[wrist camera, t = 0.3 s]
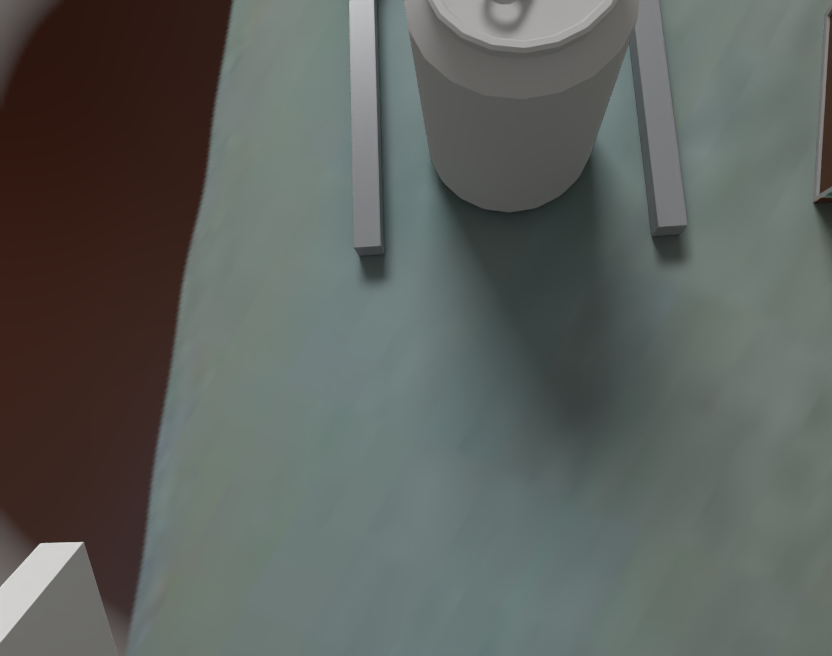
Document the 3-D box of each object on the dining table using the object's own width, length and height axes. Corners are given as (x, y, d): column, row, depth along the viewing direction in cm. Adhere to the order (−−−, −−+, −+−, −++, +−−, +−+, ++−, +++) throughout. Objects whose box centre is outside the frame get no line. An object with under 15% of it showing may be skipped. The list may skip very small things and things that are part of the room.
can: (622, 123, 31) (706, -84, 19) (528, 250, 30) (557, 114, 18) (490, 44, 32) (494, -193, 21) (397, 163, 32) (347, -14, 20)
